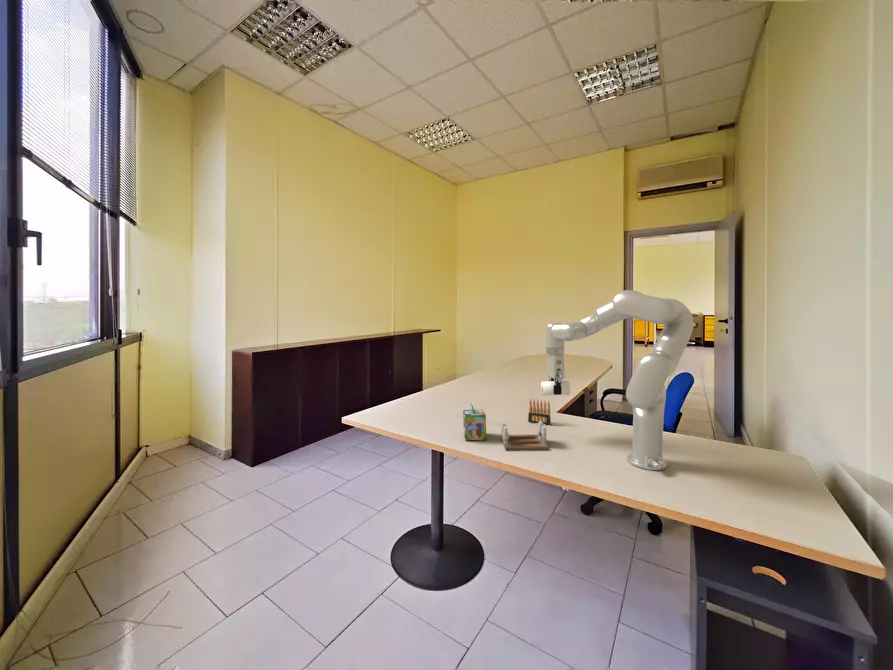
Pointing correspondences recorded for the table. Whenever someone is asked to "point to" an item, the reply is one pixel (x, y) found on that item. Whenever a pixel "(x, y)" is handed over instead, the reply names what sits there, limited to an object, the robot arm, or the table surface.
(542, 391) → the roll
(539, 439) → the holder
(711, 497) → the table surface
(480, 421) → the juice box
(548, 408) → the ammunition clip
